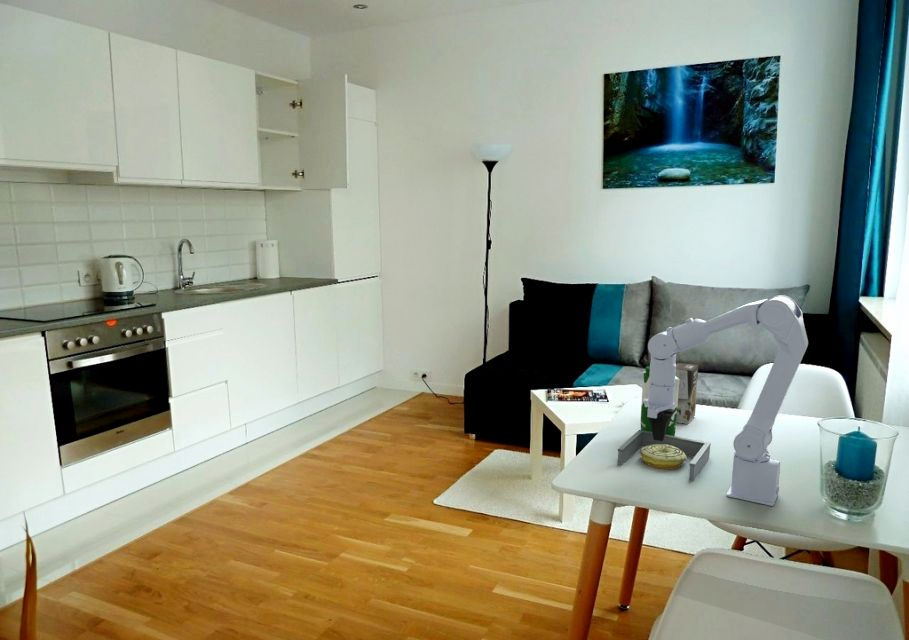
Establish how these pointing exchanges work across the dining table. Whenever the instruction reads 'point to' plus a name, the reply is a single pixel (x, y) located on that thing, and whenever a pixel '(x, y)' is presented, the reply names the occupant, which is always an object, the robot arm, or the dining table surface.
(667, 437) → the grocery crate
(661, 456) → the decorated donut
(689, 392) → the coffee box
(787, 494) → the dining table surface
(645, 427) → the milk carton
